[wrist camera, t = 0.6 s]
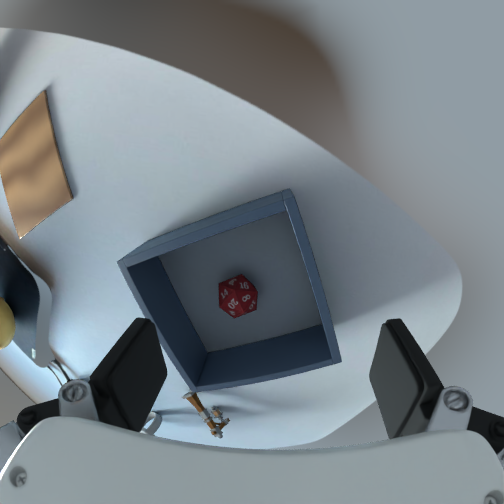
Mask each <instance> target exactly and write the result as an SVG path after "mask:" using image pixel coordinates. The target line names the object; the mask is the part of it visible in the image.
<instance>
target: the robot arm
mask: <svg viewBox="0 0 504 504" xmlns="http://www.w3.org/2000/svg"><path fill="white" fill-rule="evenodd" d="M166 377H167V368H166V364H165V361H164V357H163V354H162V350H161V346H160V342H159V338H158V335H157V331H156V326H155V324H154V323H153V322H151V320H150V319H147V318H136V319H135V320H134V321H133V322H132V324H131V325H130V326H129V327H128V329H127V330H126V331H125V332H124V334H123V335H122V336H121V337H120V338H119V340H118V341H117V342H116V344H115V345H114V346H113V347H112V349H111V350H110V351H109V352H108V354H107V355H106V356H105V357H104V359H103V360H102V361H101V363H100V364H99V365H98V366H97V368H96V369H95V370H94V372H93V373H92V374H91V376H90V381H89V382H88V383H87V382H86V381H84V380H79V379H76V380H71V381H69V382H67V383H65V384H64V385H63V386H62V387H61V388H60V390H59V394H58V398H57V399H54V400H51V401H47V402H44V403H40V404H36V405H33V406H30V407H27V408H25V409H23V410H22V411H21V412H20V413H19V415H18V417H17V422H16V423H15V422H14V421H11V422H10V423H8V424H6V425H4V426H2V427H1V428H0V504H504V417H501V416H498V415H495V414H492V413H489V412H486V411H484V410H481V409H478V408H475V407H473V406H472V405H473V399H472V397H471V395H470V394H469V392H468V391H467V390H465V389H464V388H461V387H458V386H450V387H447V388H444V386H443V385H442V383H441V381H440V379H439V378H438V376H437V374H436V373H435V371H434V369H433V368H432V366H431V364H430V363H429V361H428V360H427V358H426V356H425V355H424V353H423V351H422V350H421V348H420V347H419V345H418V344H417V342H416V341H415V339H414V338H413V336H412V335H411V333H410V332H409V330H408V329H407V327H406V326H405V324H404V323H403V321H402V320H401V319H389V320H387V321H386V323H383V324H382V327H381V331H380V335H379V339H378V343H377V347H376V351H375V355H374V359H373V362H372V366H371V369H370V374H369V377H370V382H371V384H372V387H373V390H374V393H375V396H376V399H377V402H378V405H379V408H380V411H381V414H382V418H383V421H384V424H385V427H386V430H387V434H388V436H389V439H388V440H382V441H376V442H370V443H364V444H357V445H349V446H340V447H331V448H317V449H298V450H263V449H242V448H229V447H219V446H210V445H202V444H195V443H188V442H182V441H177V440H171V439H166V438H161V437H157V436H152V435H148V434H144V433H140V432H141V430H142V428H143V426H144V424H145V422H146V419H147V417H148V415H149V413H150V411H151V409H152V407H153V404H154V402H155V400H156V398H157V396H158V394H159V392H160V390H161V388H162V385H163V383H164V381H165V379H166Z"/></svg>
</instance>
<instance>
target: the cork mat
mask: <svg viewBox="0 0 504 504" xmlns="http://www.w3.org/2000/svg"><path fill="white" fill-rule="evenodd" d="M0 174H1V178H2V183H3V187H4V191H5V195H6V198H7V202H8V206H9V209H10V212H11V216H12V219H13V222H14V225H15V228H16V231H17V234H18V236H19V239H21V238H22V237H24V236H25V235H26V234H27V233H28V232H30V231H31V230H32V229H33V228H35V227H36V226H37V225H38V224H40V223H41V222H42V221H43V220H45V219H46V218H47V217H49V216H50V215H51V214H53V213H54V212H55V211H57V210H58V209H59V208H61V207H62V206H64V205H65V204H66V203H68V202H69V201H71V200H72V199H73V196H72V193H71V190H70V187H69V184H68V181H67V178H66V175H65V171H64V168H63V165H62V161H61V158H60V154H59V150H58V147H57V143H56V139H55V134H54V130H53V126H52V121H51V116H50V111H49V106H48V100H47V94H46V91H45V90H44V91H43V92H42V93H41V94H40V95H39V96H38V97H37V98H36V99H35V100H34V101H33V102H32V103H31V104H30V105H29V106H28V107H27V109H26V110H25V111H24V112H23V113H22V114H21V115H20V116H19V117H18V119H17V120H16V121H15V122H14V123H13V125H12V126H11V127H10V128H9V129H8V131H7V132H6V133H5V134H4V136H3V137H2V138H1V140H0Z"/></svg>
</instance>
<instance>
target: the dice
mask: <svg viewBox="0 0 504 504" xmlns="http://www.w3.org/2000/svg"><path fill="white" fill-rule="evenodd" d="M257 294H258V291H257V290H256V288H255V286H254V285H253V284H251V283H250V282H249V281H248V280H247V279H246V278H245V277H244V276H243V275H242V274H240V275H238V276H236V277H233V278H231V279H228V280H226V281H223V282H221V283H219V307H220V308H221V309H222V310H224V311H225V312H226V313H228V314H229V315H230V316H232V317H233V318H237V317H239V316H242V315H244V314H247V313H249V312H252V311H254V310H257Z"/></svg>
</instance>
